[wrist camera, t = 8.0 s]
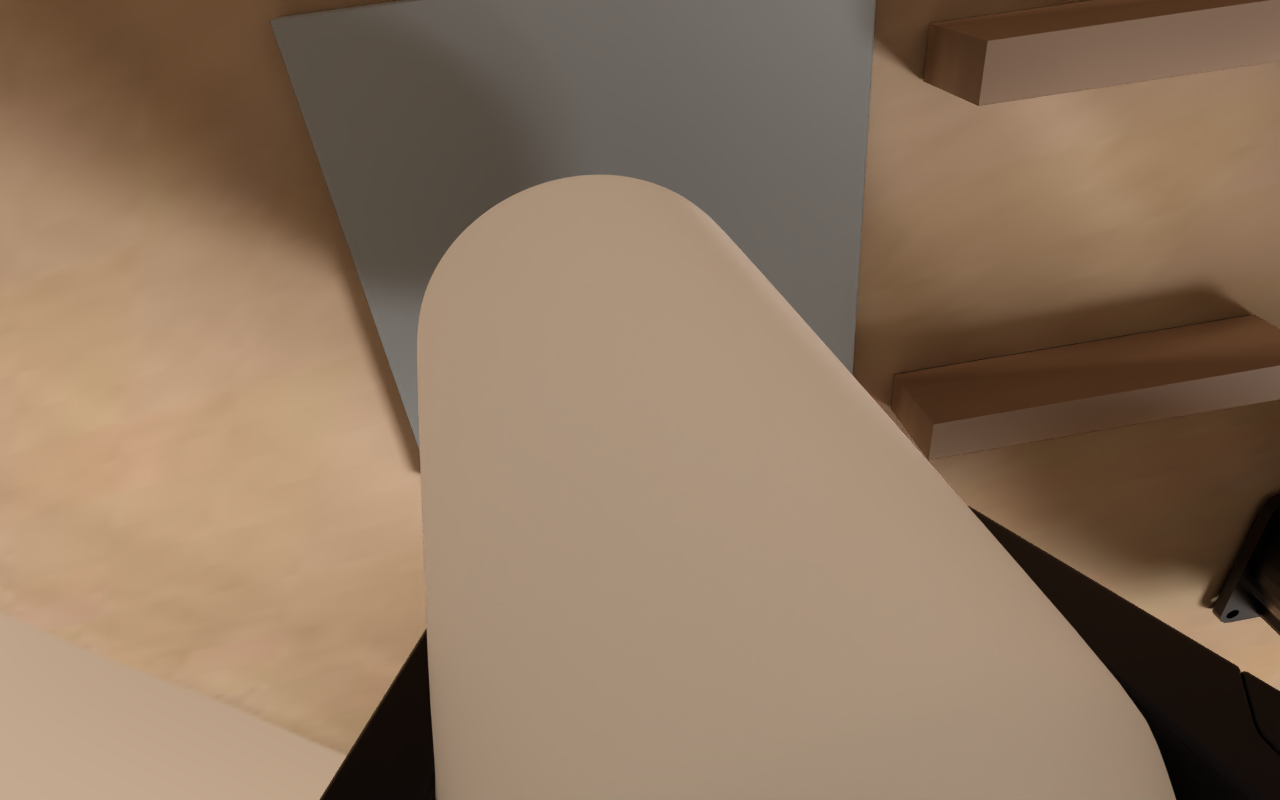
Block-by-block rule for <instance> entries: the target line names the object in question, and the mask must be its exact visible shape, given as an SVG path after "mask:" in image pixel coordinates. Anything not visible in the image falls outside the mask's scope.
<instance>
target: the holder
mask: <svg viewBox="0 0 1280 800" xmlns="http://www.w3.org/2000/svg"><path fill="white" fill-rule="evenodd" d="M1277 61H1280V0H1090V1H1083V2H1076V3H1069V4H1062V5H1055V6H1048V7H1041V8H1034V9H1027V10H1020V11H1013V12H1006V13H999V14H992V15H985V16H978V17H971V18H964V19H956V20H949V21H942V22H935V23H929V30H928V40H927V50H926V60H925V70H924V80H923V81H924V82H926V83H929V84H931V85H933V86H935V87H938V88H940V89H942V90H944V91H946V92H949V93H951V94H953V95H955V96H958V97H960V98H962V99H964V100H967V101H969V102H971V103H973V104H976V105H978V106H981V105H988V104H994V103H1001V102H1008V101H1015V100H1021V99H1028V98H1035V97H1041V96H1048V95H1055V94H1062V93H1068V92H1075V91H1082V90H1089V89H1095V88H1102V87H1109V86H1115V85H1122V84H1129V83H1136V82H1142V81H1149V80H1156V79H1162V78H1169V77H1176V76H1183V75H1189V74H1196V73H1203V72H1210V71H1216V70H1223V69H1230V68H1236V67H1243V66H1250V65H1257V64H1263V63H1270V62H1277ZM1279 399H1280V329H1278V328H1277V327H1275V326H1273V325H1271V324H1270V323H1268V322H1266V321H1264V320H1262V319H1261V318H1259V317H1257V316H1255V315H1249V316H1243V317H1237V318H1231V319H1225V320H1219V321H1213V322H1207V323H1201V324H1195V325H1189V326H1183V327H1177V328H1171V329H1165V330H1159V331H1153V332H1147V333H1141V334H1135V335H1129V336H1123V337H1117V338H1111V339H1105V340H1099V341H1093V342H1087V343H1081V344H1075V345H1069V346H1063V347H1057V348H1051V349H1045V350H1039V351H1033V352H1027V353H1021V354H1015V355H1009V356H1003V357H997V358H991V359H985V360H979V361H973V362H967V363H961V364H955V365H949V366H943V367H937V368H930V369H924V370H918V371H912V372H906V373H900V374H894V381H893V391H892V401H891V409H892V411H893V412H894V413H895V415H896V416H897V418H898V419H899V420H900V422H901V423H902V424H903V426H904V427H905V428H906V430H907V431H908V433H909V434H910V435H911V437H912V438H913V439H914V441H915V442H916V444H917V445H918V446H919V448H920V449H921V450H922V452H923V453H924V454H925V456H926V457H927V459H928V460H931V459H937V458H943V457H949V456H955V455H960V454H966V453H972V452H978V451H984V450H989V449H995V448H1001V447H1007V446H1012V445H1018V444H1024V443H1030V442H1036V441H1041V440H1047V439H1053V438H1059V437H1065V436H1070V435H1076V434H1082V433H1088V432H1094V431H1099V430H1105V429H1111V428H1117V427H1122V426H1128V425H1134V424H1140V423H1146V422H1151V421H1157V420H1163V419H1169V418H1175V417H1180V416H1186V415H1192V414H1198V413H1204V412H1209V411H1215V410H1221V409H1227V408H1232V407H1238V406H1244V405H1250V404H1256V403H1261V402H1267V401H1273V400H1279Z"/></svg>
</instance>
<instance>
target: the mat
mask: <svg viewBox="0 0 1280 800" xmlns="http://www.w3.org/2000/svg"><path fill="white" fill-rule="evenodd" d="M875 7H876V0H400V1H392V2H385V3H378V4H370V5H363V6H356V7H348V8H341V9H334V10H326V11H319V12H311V13H304V14H297V15H289V16H282V17H277V18H275V19H273V20H271V21H270V23H271V26H272V29H273V32H274V35H275V38H276V40H277V43H278V46H279V49H280V52H281V55H282V58H283V61H284V63H285V66H286V69H287V72H288V75H289V78H290V81H291V84H292V86H293V89H294V92H295V95H296V98H297V101H298V104H299V107H300V109H301V112H302V115H303V118H304V121H305V124H306V127H307V129H308V132H309V135H310V138H311V141H312V144H313V147H314V150H315V152H316V155H317V158H318V161H319V164H320V167H321V170H322V173H323V175H324V178H325V181H326V184H327V187H328V190H329V193H330V196H331V198H332V201H333V204H334V207H335V210H336V213H337V216H338V218H339V221H340V224H341V227H342V230H343V233H344V236H345V239H346V241H347V244H348V247H349V250H350V253H351V256H352V259H353V262H354V264H355V267H356V270H357V273H358V276H359V279H360V282H361V285H362V287H363V290H364V293H365V296H366V299H367V302H368V305H369V307H370V310H371V313H372V316H373V319H374V322H375V325H376V328H377V330H378V333H379V336H380V339H381V342H382V345H383V348H384V351H385V353H386V356H387V359H388V362H389V365H390V368H391V371H392V374H393V376H394V379H395V382H396V385H397V388H398V391H399V394H400V397H401V399H402V402H403V405H404V408H405V411H406V414H407V417H408V419H409V422H410V425H411V428H412V431H413V434H414V437H415V440H416V442H417V445H418V448H419V451H420V443H419V413H418V380H417V331H418V322H419V315H420V309H421V305H422V301H423V298H424V294H425V291H426V289H427V286H428V284H429V281H430V279H431V277H432V275H433V273H434V271H435V269H436V267H437V265H438V264H439V262H440V260H441V259H442V257H443V256H444V254H445V253H446V251H447V250H448V249H449V247H450V246H451V245H452V244H453V242H454V241H455V240H456V239H457V238H458V237H459V235H460V234H461V233H462V232H463V231H464V230H465V229H466V228H467V227H468V226H469V225H471V224H472V223H473V222H474V221H475V220H476V219H477V218H479V217H480V216H481V215H483V214H484V213H485V212H486V211H488V210H489V209H491V208H492V207H494V206H495V205H497V204H498V203H500V202H502V201H503V200H505V199H507V198H509V197H511V196H513V195H515V194H517V193H519V192H521V191H523V190H526V189H528V188H531V187H533V186H536V185H539V184H542V183H545V182H549V181H553V180H557V179H561V178H567V177H573V176H581V175H617V176H625V177H631V178H636V179H641V180H645V181H648V182H651V183H654V184H657V185H660V186H662V187H665V188H667V189H669V190H671V191H673V192H675V193H677V194H679V195H681V196H683V197H684V198H686V199H687V200H689V201H690V202H692V203H693V204H695V205H696V206H697V207H699V208H700V209H701V210H702V211H704V212H705V213H706V214H707V215H708V216H709V217H710V218H711V219H712V220H713V221H714V222H715V223H716V224H717V225H718V226H719V227H720V228H721V229H722V230H723V231H724V232H725V233H726V234H727V235H728V236H729V237H730V238H731V239H732V241H733V242H734V243H735V244H736V245H737V246H738V247H739V248H740V249H741V250H742V251H743V253H744V254H745V255H746V256H747V257H748V258H749V259H750V260H751V261H752V263H753V264H754V265H755V266H756V267H757V268H758V269H759V270H760V272H761V273H762V274H763V275H764V276H765V277H766V278H767V279H768V281H769V282H770V283H771V284H772V285H773V286H774V287H775V288H776V289H777V291H778V292H779V293H780V294H781V295H782V296H783V297H784V298H785V300H786V301H787V302H788V303H789V304H790V305H791V306H792V307H793V309H794V310H795V311H796V312H797V313H798V314H799V315H800V316H801V318H802V319H803V320H804V321H805V322H806V323H807V324H808V326H809V327H810V328H811V329H812V330H813V331H814V332H815V333H816V335H817V336H818V337H819V338H820V339H821V340H822V341H823V342H824V344H825V345H826V346H827V347H828V348H829V349H830V350H831V351H832V353H833V354H834V355H835V356H836V357H837V358H838V359H839V360H840V362H841V363H842V364H843V365H844V366H845V367H846V368H847V370H848V371H849V372H850V373H851V374H852V375H853V359H854V343H855V327H856V311H857V295H858V279H859V263H860V247H861V231H862V215H863V199H864V183H865V167H866V151H867V135H868V119H869V103H870V87H871V71H872V55H873V39H874V23H875Z"/></svg>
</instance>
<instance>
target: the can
mask: <svg viewBox="0 0 1280 800" xmlns="http://www.w3.org/2000/svg"><path fill="white" fill-rule="evenodd" d="M417 380H418V413H419V443H420V470H421V497H422V524H423V549H424V574H425V599H426V624H427V649H428V669H429V687H430V705H431V719H432V732H433V746H434V761H435V800H1176V798H1175V794H1174V791H1173V788H1172V785H1171V782H1170V779H1169V776H1168V773H1167V770H1166V767H1165V764H1164V761H1163V759H1162V756H1161V753H1160V750H1159V748H1158V745H1157V743H1156V740H1155V738H1154V736H1153V734H1152V732H1151V729H1150V727H1149V725H1148V723H1147V721H1146V720H1145V718H1144V717H1143V715H1142V714H1141V712H1140V711H1139V710H1138V708H1137V707H1136V705H1135V704H1134V703H1133V701H1132V700H1131V698H1130V697H1129V696H1128V694H1127V693H1126V692H1125V690H1124V689H1123V687H1122V686H1121V685H1120V683H1119V682H1118V681H1117V680H1116V678H1115V677H1114V676H1113V675H1112V674H1111V672H1110V671H1109V670H1108V669H1107V668H1106V666H1105V665H1104V664H1103V663H1102V662H1101V660H1100V659H1099V658H1098V657H1097V656H1096V654H1095V653H1094V652H1093V651H1092V650H1091V648H1090V647H1089V646H1088V645H1087V644H1086V642H1085V641H1084V640H1083V639H1082V637H1081V636H1080V635H1079V634H1078V633H1077V631H1076V630H1075V629H1074V628H1073V627H1072V626H1071V624H1070V623H1069V622H1068V621H1067V620H1066V619H1065V618H1064V616H1063V615H1062V614H1061V613H1060V612H1059V611H1058V609H1057V608H1056V607H1055V606H1054V605H1053V604H1052V602H1051V601H1050V600H1049V599H1048V598H1047V597H1046V596H1045V594H1044V593H1043V592H1042V591H1041V590H1040V589H1039V587H1038V586H1037V585H1036V584H1035V583H1034V582H1033V581H1032V579H1031V578H1030V577H1029V576H1028V575H1027V574H1026V572H1025V571H1024V570H1023V569H1022V568H1021V567H1020V566H1019V564H1018V563H1017V562H1016V561H1015V560H1014V559H1013V557H1012V556H1011V555H1010V554H1009V553H1008V552H1007V551H1006V549H1005V548H1004V547H1003V546H1002V545H1001V544H1000V543H999V541H998V540H997V539H996V538H995V537H994V536H993V535H992V533H991V532H990V531H989V530H988V529H987V528H986V527H985V525H984V524H983V523H982V522H981V521H980V520H979V519H978V517H977V516H976V515H975V514H974V513H973V512H972V511H971V509H970V508H969V507H968V506H967V505H966V504H965V503H964V501H963V500H962V499H961V498H960V497H959V496H958V495H957V493H956V492H955V491H954V490H953V489H952V488H951V487H950V485H949V484H948V483H947V482H946V481H945V480H944V479H943V477H942V476H941V475H940V474H939V473H938V472H937V471H936V469H935V468H934V467H933V466H932V465H931V464H930V463H929V461H928V460H927V459H926V458H925V457H924V456H923V455H922V453H921V452H920V451H919V450H918V449H917V448H916V447H915V446H914V444H913V443H912V442H911V441H910V440H909V439H908V438H907V436H906V435H905V434H904V433H903V432H902V431H901V430H900V429H899V427H898V426H897V425H896V424H895V423H894V422H893V421H892V419H891V418H890V417H889V416H888V415H887V414H886V413H885V411H884V410H883V409H882V408H881V407H880V406H879V405H878V404H877V402H876V401H875V400H874V399H873V398H872V397H871V396H870V394H869V393H868V392H867V391H866V390H865V389H864V388H863V387H862V385H861V384H860V383H859V382H858V381H857V380H856V379H855V377H854V376H853V375H852V374H851V373H850V372H849V371H848V370H847V368H846V367H845V366H844V365H843V364H842V363H841V362H840V360H839V359H838V358H837V357H836V356H835V355H834V354H833V353H832V351H831V350H830V349H829V348H828V347H827V346H826V345H825V344H824V342H823V341H822V340H821V339H820V338H819V337H818V336H817V335H816V333H815V332H814V331H813V330H812V329H811V328H810V327H809V326H808V324H807V323H806V322H805V321H804V320H803V319H802V318H801V316H800V315H799V314H798V313H797V312H796V311H795V310H794V309H793V307H792V306H791V305H790V304H789V303H788V302H787V301H786V300H785V298H784V297H783V296H782V295H781V294H780V293H779V292H778V291H777V289H776V288H775V287H774V286H773V285H772V284H771V283H770V282H769V281H768V279H767V278H766V277H765V276H764V275H763V274H762V273H761V272H760V270H759V269H758V268H757V267H756V266H755V265H754V264H753V263H752V261H751V260H750V259H749V258H748V257H747V256H746V255H745V254H744V253H743V251H742V250H741V249H740V248H739V247H738V246H737V245H736V244H735V243H734V242H733V241H732V239H731V238H730V237H729V236H728V235H727V234H726V233H725V232H724V231H723V230H722V229H721V228H720V227H719V226H718V225H717V224H716V223H715V222H714V221H713V220H712V219H711V218H710V217H709V216H708V215H707V214H706V213H705V212H704V211H702V210H701V209H700V208H699V207H697V206H696V205H695V204H693V203H692V202H690V201H689V200H687V199H686V198H684V197H683V196H681V195H679V194H677V193H675V192H673V191H671V190H669V189H667V188H665V187H662V186H660V185H657V184H654V183H651V182H648V181H645V180H641V179H636V178H631V177H625V176H617V175H581V176H573V177H567V178H561V179H557V180H553V181H549V182H545V183H542V184H539V185H536V186H533V187H531V188H528V189H526V190H523V191H521V192H519V193H517V194H515V195H513V196H511V197H509V198H507V199H505V200H503V201H502V202H500V203H498V204H497V205H495V206H494V207H492V208H491V209H489V210H488V211H486V212H485V213H484V214H483V215H481V216H480V217H479V218H477V219H476V220H475V221H474V222H473V223H472V224H471V225H469V226H468V227H467V228H466V229H465V230H464V231H463V232H462V233H461V234H460V235H459V237H458V238H457V239H456V240H455V241H454V242H453V244H452V245H451V246H450V247H449V249H448V250H447V251H446V253H445V254H444V256H443V257H442V259H441V260H440V262H439V264H438V265H437V267H436V269H435V271H434V273H433V275H432V277H431V279H430V281H429V284H428V286H427V289H426V291H425V294H424V298H423V301H422V305H421V309H420V315H419V322H418V331H417Z"/></svg>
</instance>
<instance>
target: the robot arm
mask: <svg viewBox="0 0 1280 800" xmlns="http://www.w3.org/2000/svg"><path fill="white" fill-rule="evenodd" d="M968 507H969V506H968ZM969 508H970V509H971V511H972V512H973V513H974V514H975V515H976V516H977V517H978V519H979V520H980V521H981V522H982V523H983V524H984V525H985V527H986V528H987V529H988V530H989V531H990V532H991V533H992V535H993V536H994V537H995V538H996V539H997V540H998V541H999V543H1000V544H1001V545H1002V546H1003V547H1004V548H1005V549H1006V551H1007V552H1008V553H1009V554H1010V555H1011V556H1012V557H1013V559H1014V560H1015V561H1016V562H1017V563H1018V564H1019V566H1020V567H1021V568H1022V569H1023V570H1024V571H1025V572H1026V574H1027V575H1028V576H1029V577H1030V578H1031V579H1032V581H1033V582H1034V583H1035V584H1036V585H1037V586H1038V587H1039V589H1040V590H1041V591H1042V592H1043V593H1044V594H1045V596H1046V597H1047V598H1048V599H1049V600H1050V601H1051V602H1052V604H1053V605H1054V606H1055V607H1056V608H1057V609H1058V611H1059V612H1060V613H1061V614H1062V615H1063V616H1064V618H1065V619H1066V620H1067V621H1068V622H1069V623H1070V624H1071V626H1072V627H1073V628H1074V629H1075V630H1076V631H1077V633H1078V634H1079V635H1080V636H1081V637H1082V639H1083V640H1084V641H1085V642H1086V644H1087V645H1088V646H1089V647H1090V648H1091V650H1092V651H1093V652H1094V653H1095V654H1096V656H1097V657H1098V658H1099V659H1100V660H1101V662H1102V663H1103V664H1104V665H1105V666H1106V668H1107V669H1108V670H1109V671H1110V672H1111V674H1112V675H1113V676H1114V677H1115V678H1116V680H1117V681H1118V682H1119V683H1120V685H1121V686H1122V687H1123V689H1124V690H1125V692H1126V693H1127V694H1128V696H1129V697H1130V698H1131V700H1132V701H1133V703H1134V704H1135V705H1136V707H1137V708H1138V710H1139V711H1140V712H1141V714H1142V715H1143V717H1144V718H1145V720H1146V721H1147V723H1148V725H1149V727H1150V729H1151V732H1152V734H1153V736H1154V738H1155V740H1156V743H1157V745H1158V748H1159V750H1160V753H1161V756H1162V759H1163V761H1164V764H1165V767H1166V770H1167V773H1168V776H1169V779H1170V782H1171V785H1172V788H1173V791H1174V794H1175V798H1176V800H1280V691H1279V690H1277V689H1275V688H1273V687H1272V686H1270V685H1268V684H1267V683H1265V682H1263V681H1262V680H1260V679H1258V678H1257V677H1255V676H1253V675H1252V674H1250V673H1248V672H1245V671H1244V672H1241V671H1240V669H1239V667H1238V666H1236V665H1234V664H1233V663H1231V662H1229V661H1228V660H1226V659H1224V658H1223V657H1221V656H1219V655H1218V654H1216V653H1214V652H1213V651H1211V650H1209V649H1208V648H1206V647H1204V646H1203V645H1201V644H1199V643H1198V642H1196V641H1194V640H1193V639H1191V638H1189V637H1188V636H1186V635H1184V634H1182V633H1181V632H1179V631H1177V630H1176V629H1174V628H1172V627H1171V626H1169V625H1167V624H1166V623H1164V622H1162V621H1161V620H1159V619H1157V618H1156V617H1154V616H1152V615H1151V614H1149V613H1147V612H1146V611H1144V610H1142V609H1141V608H1139V607H1137V606H1136V605H1134V604H1132V603H1130V602H1129V601H1127V600H1125V599H1124V598H1122V597H1120V596H1119V595H1117V594H1115V593H1114V592H1112V591H1110V590H1109V589H1107V588H1105V587H1104V586H1102V585H1100V584H1099V583H1097V582H1095V581H1094V580H1092V579H1090V578H1089V577H1087V576H1085V575H1084V574H1082V573H1080V572H1078V571H1077V570H1075V569H1073V568H1072V567H1070V566H1068V565H1067V564H1065V563H1063V562H1062V561H1060V560H1058V559H1057V558H1055V557H1053V556H1052V555H1050V554H1048V553H1047V552H1045V551H1043V550H1042V549H1040V548H1038V547H1037V546H1035V545H1033V544H1032V543H1030V542H1028V541H1026V540H1025V539H1023V538H1021V537H1020V536H1018V535H1016V534H1015V533H1013V532H1011V531H1010V530H1008V529H1006V528H1005V527H1003V526H1001V525H1000V524H998V523H996V522H995V521H993V520H991V519H990V518H988V517H986V516H985V515H983V514H981V513H980V512H978V511H976V510H974V509H973V508H971V507H969ZM1212 612H1213V613H1214V615H1215V616H1216V617H1217V618H1218V619H1219V620H1220V621H1221V622H1224V623H1228V622H1234V621H1239V620H1244V619H1250V618H1255V617H1261V618H1262V619H1264V620H1265V621H1266V622H1267V623H1268V624H1269V625H1270V626H1271V627H1272V628H1273V629H1274V630H1275V631H1276V632H1277V633H1278V634H1279V635H1280V494H1279V495H1276V496H1274V497H1272V498H1270V499H1269V500H1268V501H1267V502H1266V503H1265V504H1264V505H1263V507H1262V509H1261V511H1260V513H1259V515H1258V517H1257V519H1256V521H1255V523H1254V525H1253V528H1252V530H1251V532H1250V534H1249V536H1248V538H1247V540H1246V542H1245V544H1244V546H1243V548H1242V550H1241V552H1240V554H1239V556H1238V558H1237V560H1236V562H1235V565H1234V567H1233V569H1232V571H1231V573H1230V575H1229V577H1228V579H1227V581H1226V583H1225V585H1224V587H1223V589H1222V591H1221V593H1220V595H1219V597H1218V599H1217V601H1216V604H1215V606H1214V608H1213V611H1212ZM320 800H435V761H434V746H433V732H432V719H431V705H430V687H429V669H428V649H427V628H426V630H425V631H424V633H423V635H422V636H421V638H420V639H419V641H418V643H417V644H416V646H415V647H414V649H413V651H412V652H411V654H410V655H409V657H408V659H407V660H406V662H405V663H404V665H403V667H402V668H401V670H400V671H399V673H398V675H397V676H396V678H395V679H394V681H393V683H392V684H391V686H390V687H389V689H388V691H387V692H386V694H385V696H384V697H383V699H382V700H381V702H380V704H379V705H378V707H377V708H376V710H375V712H374V713H373V715H372V716H371V718H370V720H369V721H368V723H367V724H366V726H365V728H364V729H363V731H362V732H361V734H360V736H359V737H358V739H357V740H356V742H355V744H354V745H353V747H352V748H351V750H350V752H349V753H348V755H347V756H346V758H345V760H344V761H343V763H342V765H341V766H340V768H339V769H338V771H337V773H336V774H335V776H334V777H333V779H332V781H331V782H330V784H329V786H328V787H327V789H326V790H325V792H324V794H323V795H322V797H321V798H320Z"/></svg>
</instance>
